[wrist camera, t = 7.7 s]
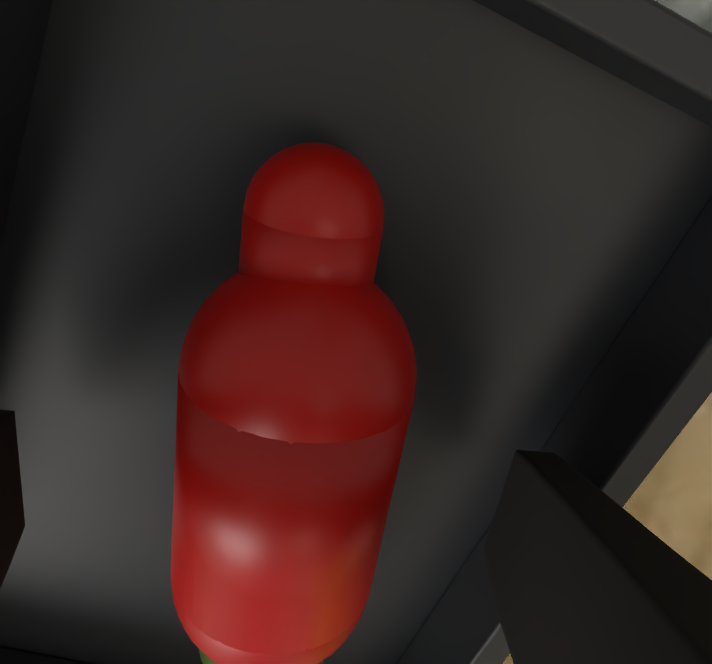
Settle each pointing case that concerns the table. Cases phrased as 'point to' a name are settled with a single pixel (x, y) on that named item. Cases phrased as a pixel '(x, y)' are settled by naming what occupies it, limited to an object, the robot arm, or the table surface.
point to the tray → (393, 276)
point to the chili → (290, 420)
